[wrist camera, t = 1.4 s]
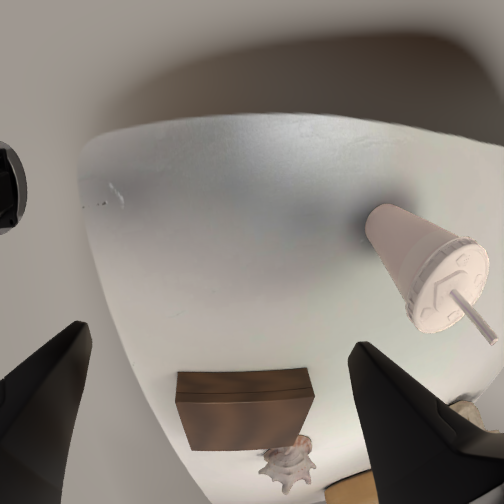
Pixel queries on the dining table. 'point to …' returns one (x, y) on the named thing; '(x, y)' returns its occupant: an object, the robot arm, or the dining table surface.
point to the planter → (353, 490)
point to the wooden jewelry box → (243, 408)
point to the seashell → (289, 463)
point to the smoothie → (430, 269)
